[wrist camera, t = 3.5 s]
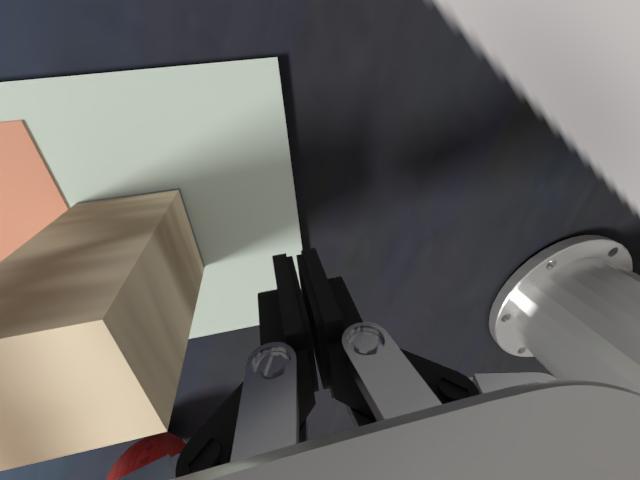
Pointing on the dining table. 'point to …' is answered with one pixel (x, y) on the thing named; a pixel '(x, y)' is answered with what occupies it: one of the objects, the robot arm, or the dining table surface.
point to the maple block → (96, 326)
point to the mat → (162, 165)
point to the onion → (146, 453)
